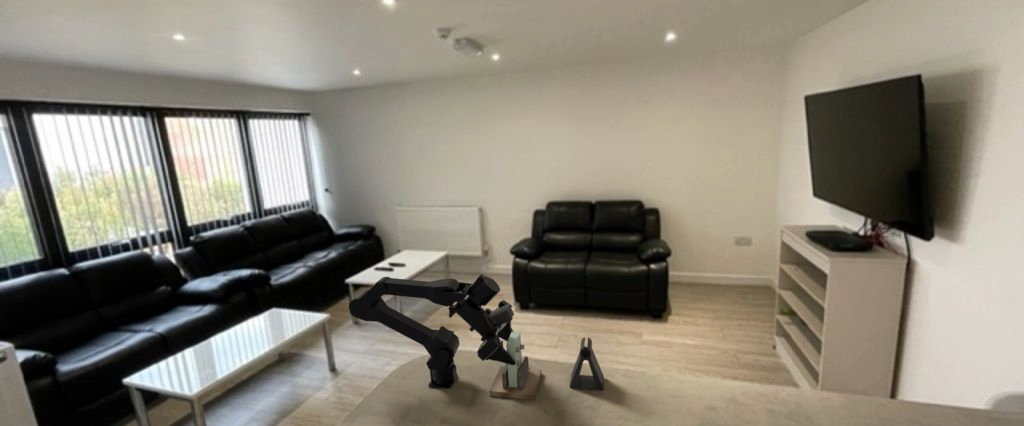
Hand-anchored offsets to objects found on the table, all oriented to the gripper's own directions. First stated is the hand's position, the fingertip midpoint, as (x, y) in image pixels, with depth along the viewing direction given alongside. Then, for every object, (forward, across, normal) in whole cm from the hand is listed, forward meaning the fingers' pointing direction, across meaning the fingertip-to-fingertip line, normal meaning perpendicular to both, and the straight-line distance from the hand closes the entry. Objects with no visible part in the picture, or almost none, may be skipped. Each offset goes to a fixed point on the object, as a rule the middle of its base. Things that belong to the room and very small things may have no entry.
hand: (517, 354), depth 115 cm
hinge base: (+6, 0, +7) cm, 9 cm away
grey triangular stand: (+20, +2, -6) cm, 21 cm away
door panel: (+5, 0, +6) cm, 8 cm away
